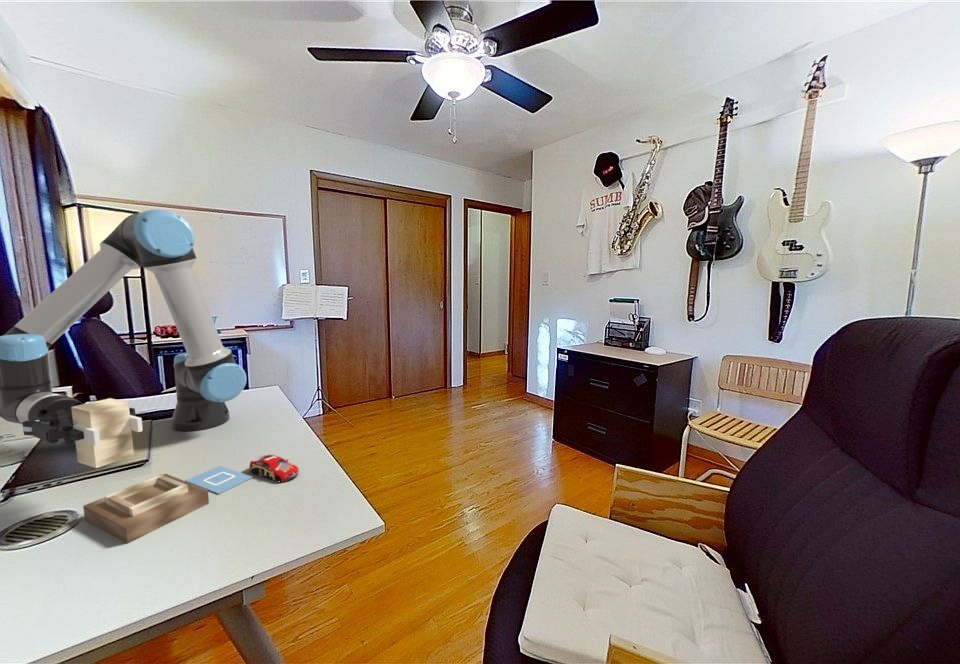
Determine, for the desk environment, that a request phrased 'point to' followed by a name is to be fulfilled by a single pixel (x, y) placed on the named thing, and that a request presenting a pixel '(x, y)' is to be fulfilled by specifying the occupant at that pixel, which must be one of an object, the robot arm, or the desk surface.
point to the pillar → (104, 431)
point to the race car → (273, 468)
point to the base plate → (145, 506)
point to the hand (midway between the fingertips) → (119, 431)
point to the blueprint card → (219, 479)
